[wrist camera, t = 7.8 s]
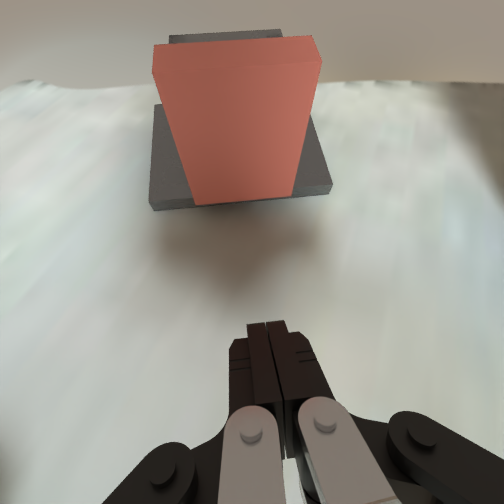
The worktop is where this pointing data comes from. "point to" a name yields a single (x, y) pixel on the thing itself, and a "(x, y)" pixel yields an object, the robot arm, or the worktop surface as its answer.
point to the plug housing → (170, 166)
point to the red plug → (238, 112)
